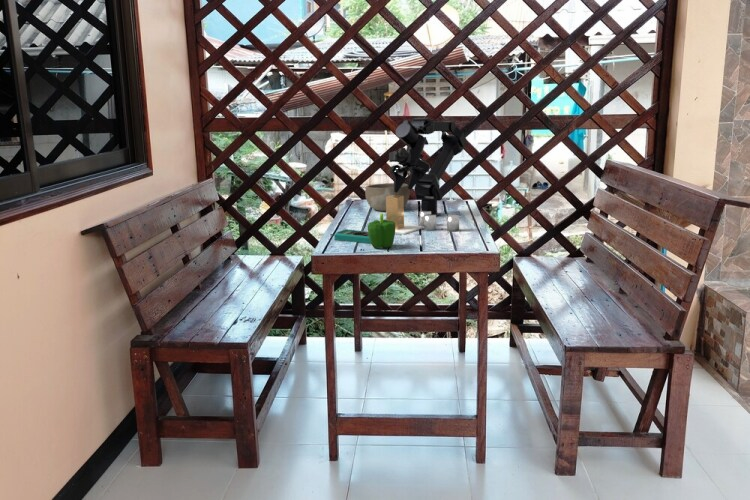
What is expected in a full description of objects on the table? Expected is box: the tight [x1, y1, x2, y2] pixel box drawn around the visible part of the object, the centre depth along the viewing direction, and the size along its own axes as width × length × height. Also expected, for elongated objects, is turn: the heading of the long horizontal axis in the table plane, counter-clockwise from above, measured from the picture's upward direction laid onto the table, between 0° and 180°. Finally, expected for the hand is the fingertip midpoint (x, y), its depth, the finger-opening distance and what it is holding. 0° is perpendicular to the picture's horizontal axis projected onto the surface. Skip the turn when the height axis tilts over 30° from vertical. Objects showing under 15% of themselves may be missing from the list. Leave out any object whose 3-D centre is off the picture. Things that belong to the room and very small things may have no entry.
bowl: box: [364, 182, 411, 212], centre depth 260 cm, size 17×18×10 cm
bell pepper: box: [367, 213, 396, 249], centre depth 197 cm, size 8×8×10 cm
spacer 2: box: [423, 214, 437, 232], centre depth 220 cm, size 4×4×5 cm
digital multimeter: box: [333, 229, 372, 245], centre depth 208 cm, size 7×15×3 cm, turn 60°
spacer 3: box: [446, 214, 460, 233], centre depth 217 cm, size 4×4×5 cm
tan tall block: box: [385, 195, 405, 230], centre depth 221 cm, size 4×4×11 cm
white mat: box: [395, 223, 424, 235], centre depth 223 cm, size 12×14×1 cm
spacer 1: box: [419, 210, 431, 226], centre depth 227 cm, size 4×4×5 cm
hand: (402, 190), depth 228 cm, fingers open, 9 cm apart
